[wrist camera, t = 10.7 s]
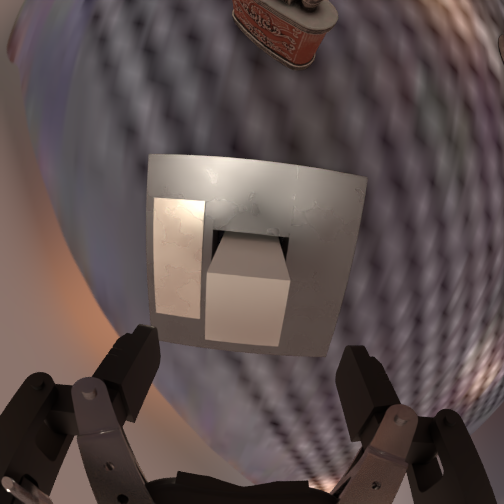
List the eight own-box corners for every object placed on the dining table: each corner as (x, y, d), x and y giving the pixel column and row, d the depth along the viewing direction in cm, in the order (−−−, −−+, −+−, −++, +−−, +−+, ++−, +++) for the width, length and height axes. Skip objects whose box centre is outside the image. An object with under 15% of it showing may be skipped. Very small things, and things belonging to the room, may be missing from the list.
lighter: (322, 57, 17) (365, -5, 7) (292, 78, 18) (320, 17, 8) (254, 0, 15) (252, -75, 5) (223, 19, 16) (203, -54, 6)
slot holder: (353, 175, 20) (368, 177, 17) (319, 337, 25) (326, 358, 21) (163, 155, 20) (148, 154, 17) (162, 321, 24) (151, 340, 21)
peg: (277, 233, 21) (290, 280, 13) (270, 279, 23) (278, 346, 14) (226, 228, 21) (206, 272, 13) (223, 274, 23) (204, 339, 14)
